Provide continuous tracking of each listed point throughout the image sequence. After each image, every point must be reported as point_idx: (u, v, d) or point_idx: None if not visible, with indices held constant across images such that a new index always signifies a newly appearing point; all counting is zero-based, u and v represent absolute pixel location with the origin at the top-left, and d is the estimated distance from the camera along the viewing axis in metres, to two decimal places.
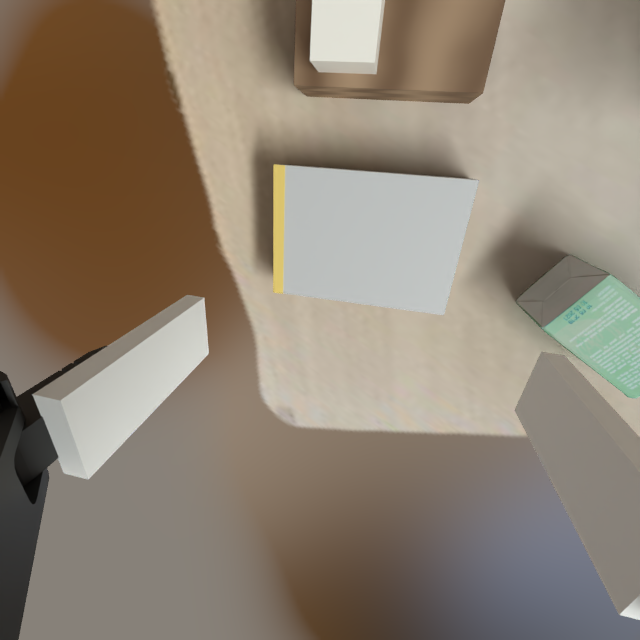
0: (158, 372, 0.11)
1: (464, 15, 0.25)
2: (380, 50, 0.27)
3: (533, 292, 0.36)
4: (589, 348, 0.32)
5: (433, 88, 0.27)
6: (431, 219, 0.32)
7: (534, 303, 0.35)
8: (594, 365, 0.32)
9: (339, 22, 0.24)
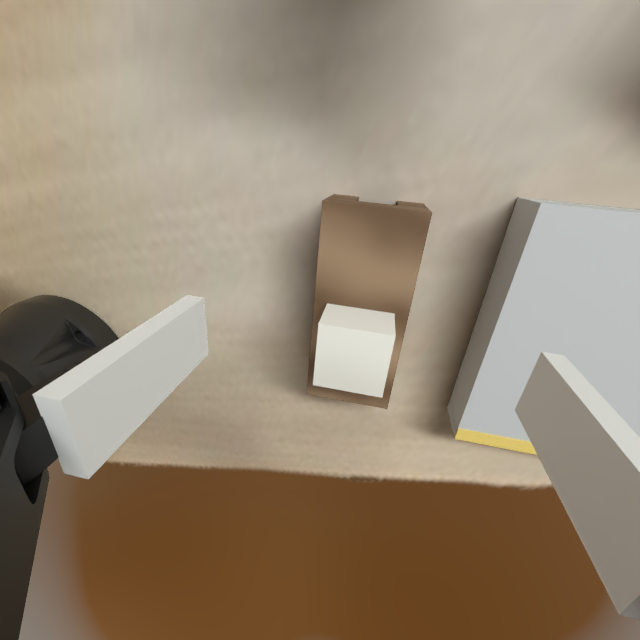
0: (158, 372, 0.11)
1: (350, 245, 0.22)
2: None
3: None
4: None
5: (415, 273, 0.22)
6: (583, 266, 0.21)
7: None
8: None
9: (354, 367, 0.22)
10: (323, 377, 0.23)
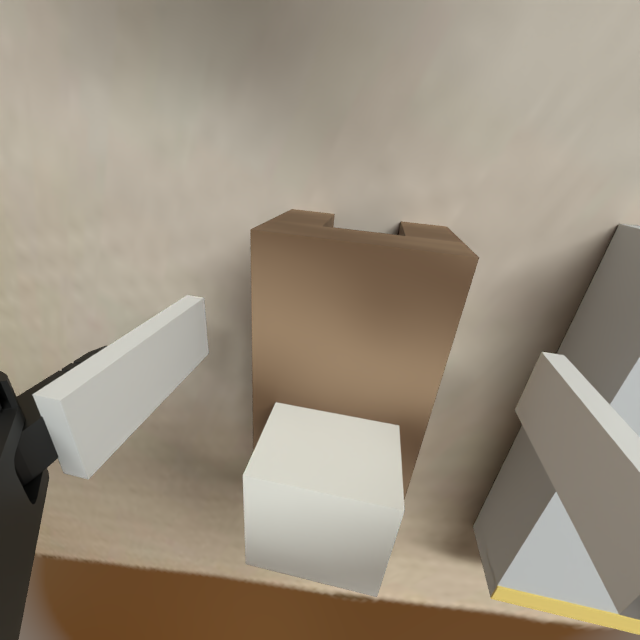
0: (158, 372, 0.11)
1: (311, 315, 0.11)
2: None
3: None
4: None
5: (439, 368, 0.11)
6: None
7: None
8: None
9: (320, 549, 0.11)
10: (263, 556, 0.12)
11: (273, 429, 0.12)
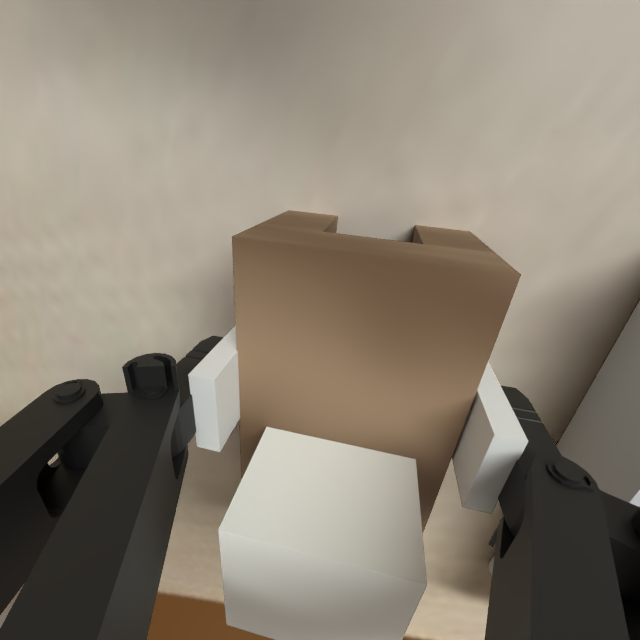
0: None
1: (308, 340, 0.09)
2: None
3: None
4: None
5: (463, 407, 0.09)
6: None
7: None
8: None
9: (317, 617, 0.09)
10: (247, 618, 0.10)
11: (261, 463, 0.10)
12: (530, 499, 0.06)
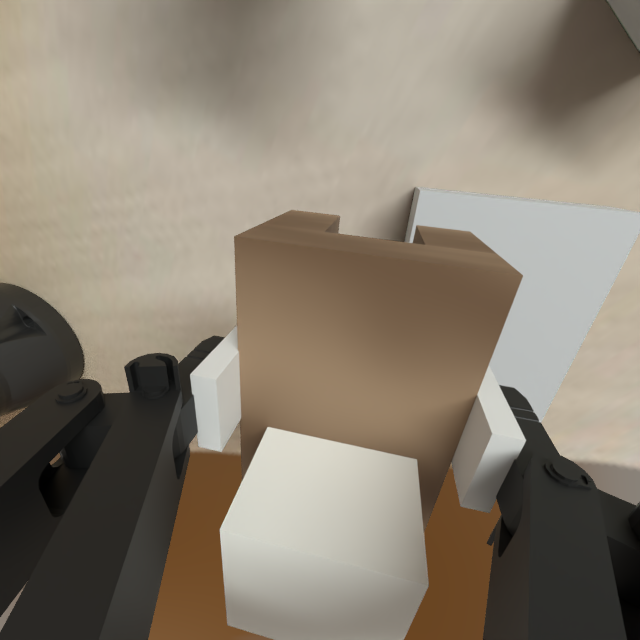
0: None
1: (309, 340, 0.09)
2: None
3: None
4: None
5: (464, 408, 0.09)
6: None
7: None
8: None
9: (318, 618, 0.09)
10: (248, 619, 0.10)
11: (262, 463, 0.10)
12: (528, 498, 0.06)
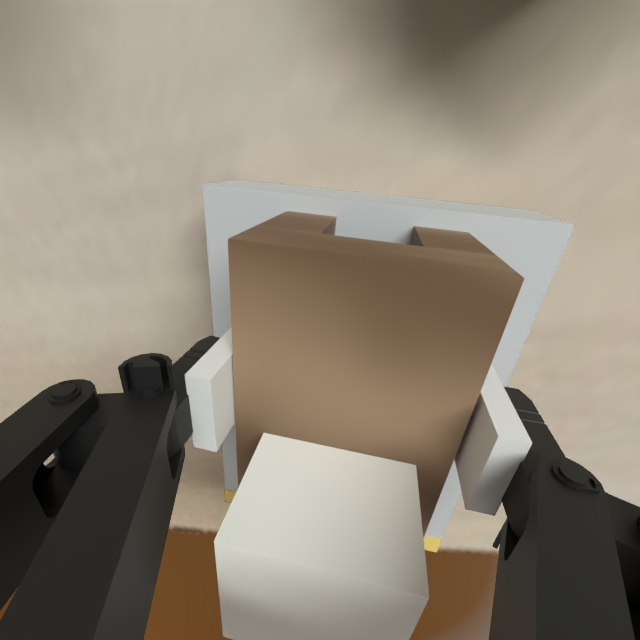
0: None
1: (306, 345, 0.09)
2: None
3: None
4: None
5: (464, 413, 0.09)
6: None
7: None
8: None
9: (315, 630, 0.09)
10: (245, 630, 0.09)
11: (258, 471, 0.09)
12: (535, 501, 0.06)
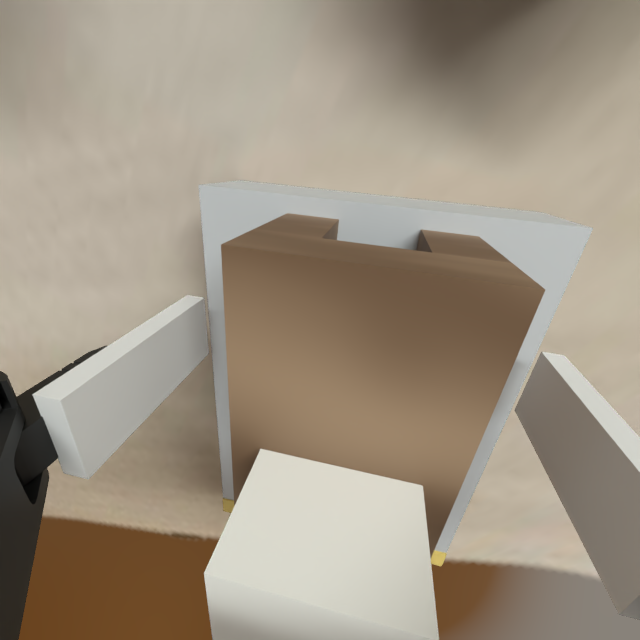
0: (158, 372, 0.11)
1: (305, 358, 0.08)
2: None
3: None
4: None
5: (476, 432, 0.08)
6: None
7: None
8: None
9: None
10: None
11: (254, 492, 0.09)
12: None
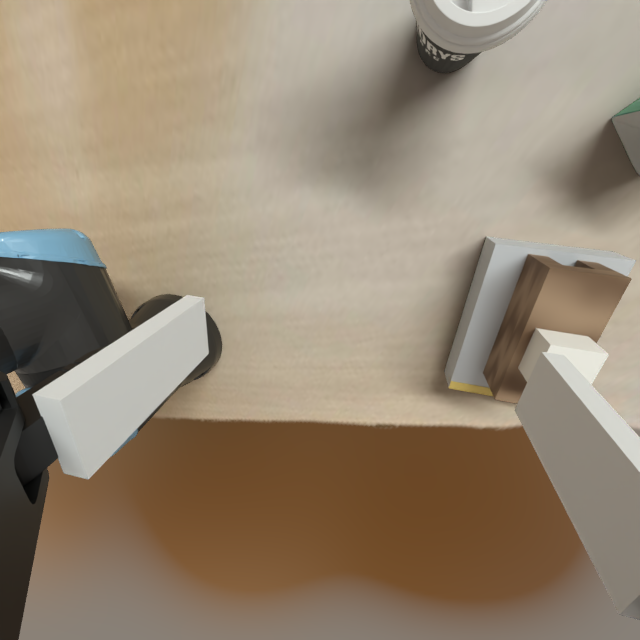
0: (158, 372, 0.11)
1: (563, 297, 0.32)
2: None
3: None
4: None
5: (608, 317, 0.32)
6: None
7: None
8: None
9: None
10: None
11: (545, 335, 0.32)
12: None
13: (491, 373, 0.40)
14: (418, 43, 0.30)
